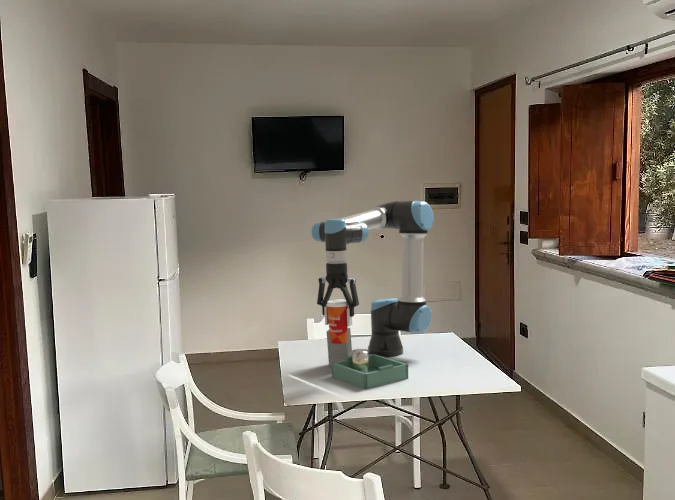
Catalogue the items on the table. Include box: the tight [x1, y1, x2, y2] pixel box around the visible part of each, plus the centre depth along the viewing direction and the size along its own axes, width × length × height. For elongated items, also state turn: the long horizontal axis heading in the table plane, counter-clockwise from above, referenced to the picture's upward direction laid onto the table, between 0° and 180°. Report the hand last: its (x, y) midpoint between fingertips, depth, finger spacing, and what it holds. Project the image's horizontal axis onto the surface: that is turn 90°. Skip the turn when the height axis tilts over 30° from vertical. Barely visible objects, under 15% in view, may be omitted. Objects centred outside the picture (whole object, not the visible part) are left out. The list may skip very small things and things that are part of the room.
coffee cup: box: [326, 298, 349, 344], centre depth 235 cm, size 8×8×15 cm
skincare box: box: [326, 327, 353, 369], centre depth 257 cm, size 8×7×16 cm
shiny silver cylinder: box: [352, 348, 369, 373], centre depth 245 cm, size 6×6×9 cm
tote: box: [331, 354, 409, 390], centre depth 241 cm, size 20×20×7 cm
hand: (338, 324), depth 235 cm, fingers closed on coffee cup, 8 cm apart
